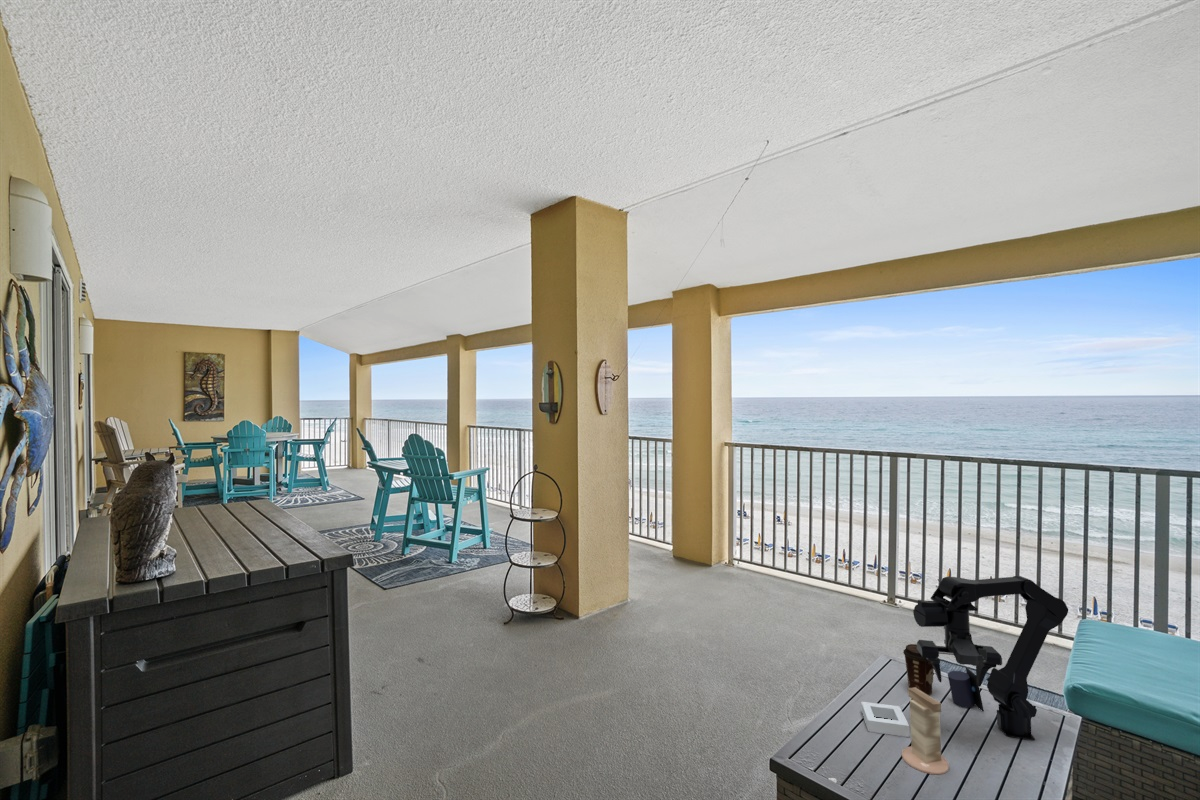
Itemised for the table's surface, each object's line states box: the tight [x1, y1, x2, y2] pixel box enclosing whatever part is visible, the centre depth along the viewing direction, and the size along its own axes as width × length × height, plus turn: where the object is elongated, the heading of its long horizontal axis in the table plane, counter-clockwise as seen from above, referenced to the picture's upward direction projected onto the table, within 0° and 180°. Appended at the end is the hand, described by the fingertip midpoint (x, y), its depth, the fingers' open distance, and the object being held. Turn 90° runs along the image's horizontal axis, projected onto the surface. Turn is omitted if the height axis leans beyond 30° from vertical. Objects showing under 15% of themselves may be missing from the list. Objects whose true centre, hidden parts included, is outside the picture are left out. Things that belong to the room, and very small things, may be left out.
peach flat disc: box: [901, 746, 950, 775], centre depth 132 cm, size 10×10×1 cm
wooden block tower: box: [907, 687, 942, 763], centre depth 133 cm, size 4×8×15 cm, turn 12°
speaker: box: [946, 667, 985, 712], centre depth 158 cm, size 8×6×10 cm
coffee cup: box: [902, 643, 935, 696], centre depth 166 cm, size 9×8×13 cm
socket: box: [860, 701, 910, 738], centre depth 148 cm, size 10×10×3 cm
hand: (959, 683), depth 144 cm, fingers open, 9 cm apart
